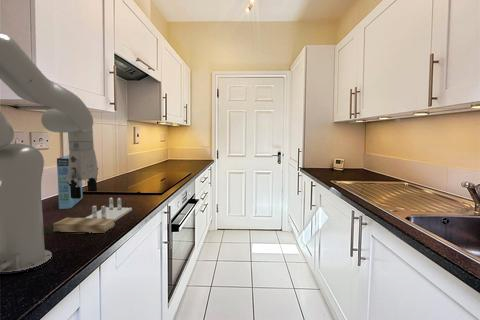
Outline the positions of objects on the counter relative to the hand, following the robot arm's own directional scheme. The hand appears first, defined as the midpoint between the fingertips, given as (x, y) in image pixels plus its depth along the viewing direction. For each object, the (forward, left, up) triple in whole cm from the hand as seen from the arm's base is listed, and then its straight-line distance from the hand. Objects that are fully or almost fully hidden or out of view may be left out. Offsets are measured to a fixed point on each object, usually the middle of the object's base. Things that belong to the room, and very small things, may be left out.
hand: (84, 194), depth 100 cm
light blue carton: (+33, +27, -13) cm, 45 cm away
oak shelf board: (-1, 0, -13) cm, 13 cm away
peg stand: (+15, 0, -13) cm, 20 cm away
